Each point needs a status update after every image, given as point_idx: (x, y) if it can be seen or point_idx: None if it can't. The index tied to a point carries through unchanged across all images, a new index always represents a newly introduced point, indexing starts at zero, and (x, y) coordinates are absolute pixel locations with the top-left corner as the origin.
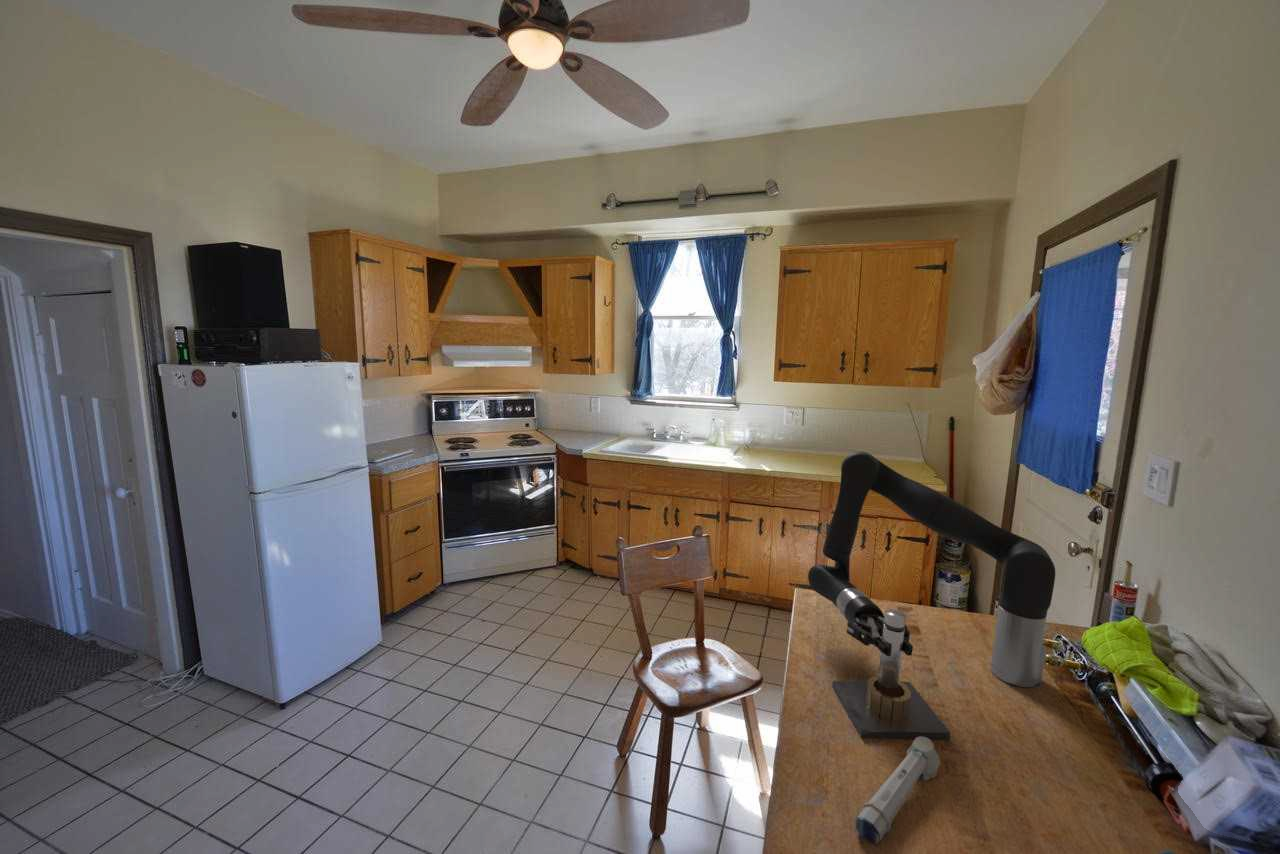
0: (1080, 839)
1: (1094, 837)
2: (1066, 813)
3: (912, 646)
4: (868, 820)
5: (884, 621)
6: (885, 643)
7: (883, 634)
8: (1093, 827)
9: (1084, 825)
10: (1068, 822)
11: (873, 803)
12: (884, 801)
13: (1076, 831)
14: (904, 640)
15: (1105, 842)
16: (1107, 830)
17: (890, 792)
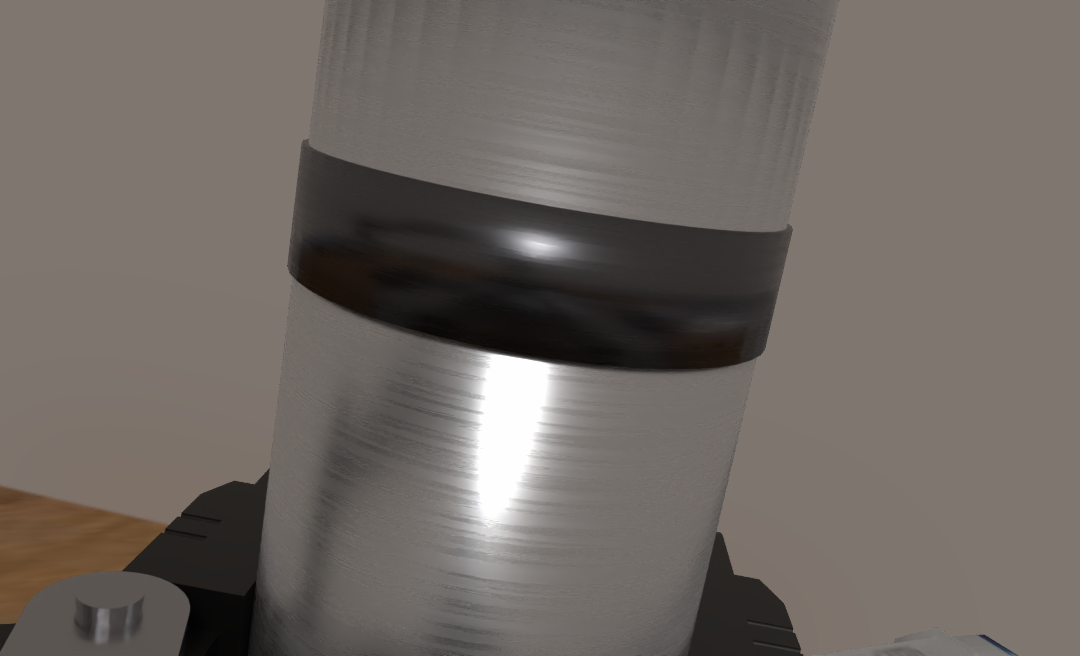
0: (162, 531)
1: (102, 521)
2: (63, 571)
3: (230, 483)
4: (992, 645)
5: (787, 224)
6: (717, 570)
7: (711, 549)
8: (47, 530)
9: (69, 540)
10: (112, 558)
11: (968, 648)
12: (914, 647)
13: (134, 542)
14: (250, 525)
15: (91, 508)
16: (14, 516)
17: (876, 653)
